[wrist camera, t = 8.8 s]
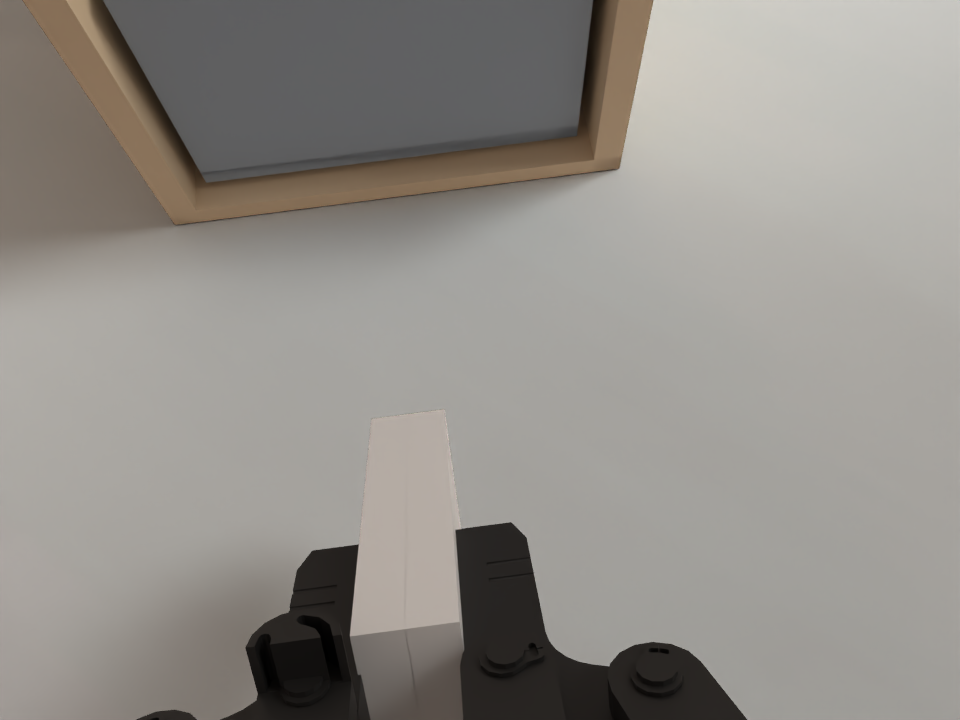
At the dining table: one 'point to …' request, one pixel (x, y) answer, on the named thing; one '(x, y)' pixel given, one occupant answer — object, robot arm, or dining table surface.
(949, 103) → the dining table surface
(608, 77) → the mailer sleeve
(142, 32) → the drawer tray
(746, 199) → the dining table surface
